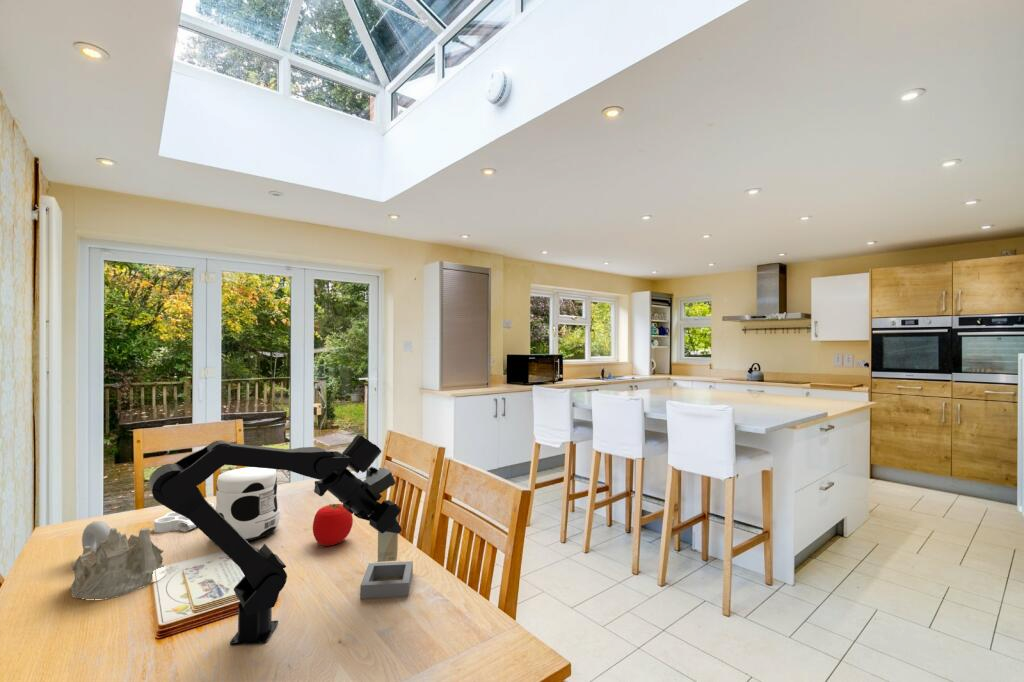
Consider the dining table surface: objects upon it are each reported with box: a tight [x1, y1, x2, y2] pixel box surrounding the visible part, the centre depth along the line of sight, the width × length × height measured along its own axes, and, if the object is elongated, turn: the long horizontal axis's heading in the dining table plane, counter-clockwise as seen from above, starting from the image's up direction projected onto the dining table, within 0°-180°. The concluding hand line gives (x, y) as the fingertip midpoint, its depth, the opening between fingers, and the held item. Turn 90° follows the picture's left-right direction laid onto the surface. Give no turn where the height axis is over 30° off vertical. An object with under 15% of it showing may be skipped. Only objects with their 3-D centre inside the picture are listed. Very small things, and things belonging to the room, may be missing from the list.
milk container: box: [215, 467, 281, 542], centre depth 138 cm, size 17×17×18 cm
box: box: [377, 515, 399, 563], centre depth 110 cm, size 5×4×11 cm
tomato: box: [312, 503, 354, 547], centre depth 133 cm, size 10×11×11 cm
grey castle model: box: [70, 527, 166, 600], centre depth 110 cm, size 16×16×15 cm
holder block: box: [359, 560, 414, 600], centre depth 110 cm, size 10×10×3 cm
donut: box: [81, 520, 111, 551], centre depth 121 cm, size 10×4×10 cm, turn 66°
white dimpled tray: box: [153, 502, 216, 534], centre depth 147 cm, size 3×18×15 cm
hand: (393, 527), depth 111 cm, fingers closed on box, 6 cm apart
